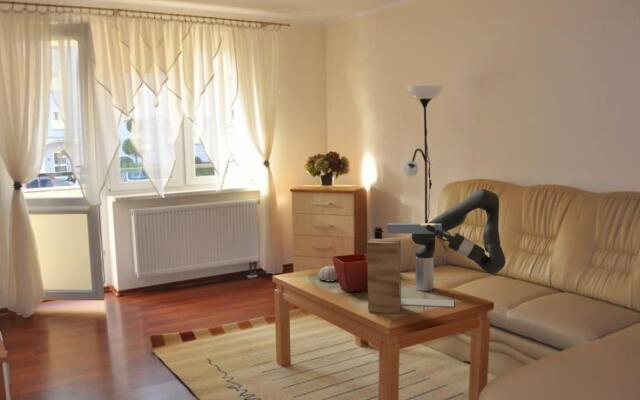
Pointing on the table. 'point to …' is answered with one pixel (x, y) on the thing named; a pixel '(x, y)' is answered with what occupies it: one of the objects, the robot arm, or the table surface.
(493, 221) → the robot arm
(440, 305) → the felt mat
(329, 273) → the sea urchin shell
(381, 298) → the walnut stand
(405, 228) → the spaghetti box
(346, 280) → the plant pot
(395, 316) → the table surface
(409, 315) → the table surface
